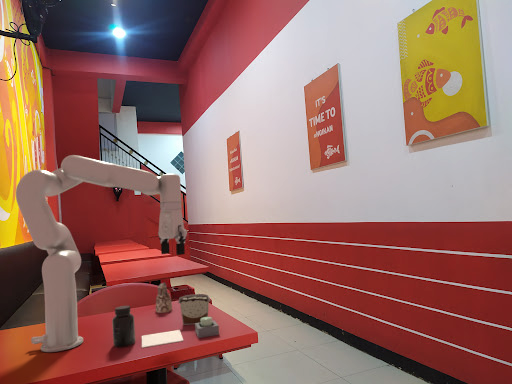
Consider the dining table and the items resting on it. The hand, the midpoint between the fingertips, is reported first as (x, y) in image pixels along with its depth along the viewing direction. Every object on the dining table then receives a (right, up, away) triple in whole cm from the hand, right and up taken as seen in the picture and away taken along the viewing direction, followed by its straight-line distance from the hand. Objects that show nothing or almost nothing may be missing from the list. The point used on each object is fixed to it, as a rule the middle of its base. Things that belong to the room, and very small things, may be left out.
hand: (172, 254), depth 132 cm
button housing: (+14, -26, -8) cm, 30 cm away
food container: (+8, -28, +7) cm, 30 cm away
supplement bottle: (-13, -28, -13) cm, 33 cm away
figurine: (-11, -30, +28) cm, 43 cm away
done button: (+13, -24, -8) cm, 29 cm away
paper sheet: (-1, -27, -10) cm, 29 cm away
